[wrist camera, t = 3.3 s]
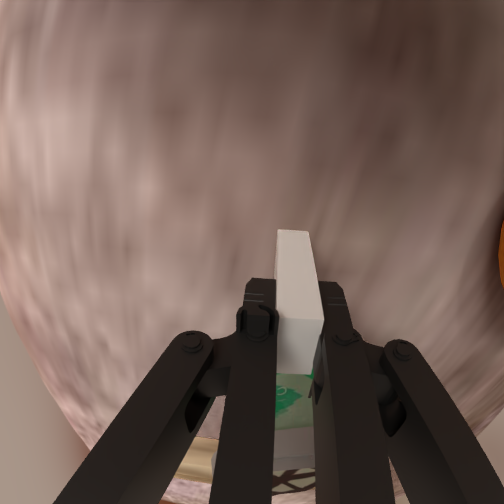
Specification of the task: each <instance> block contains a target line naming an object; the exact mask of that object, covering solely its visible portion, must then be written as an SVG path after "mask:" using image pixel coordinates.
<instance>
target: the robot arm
mask: <svg viewBox="0 0 504 504" xmlns="http://www.w3.org/2000/svg"><path fill="white" fill-rule="evenodd" d="M312 368H313V373H314V377H313V380H312V384H311V387H310V391H309V395H308V398H311V396H312V407H313V427H314V452H315V491H316V504H395V497H394V490H393V483H392V477H391V470H390V464H389V458H390V460H391V462H392V464H393V467H394V469H395V471H396V473H397V475H398V478H399V480H400V482H401V484H402V487H403V489H404V491H405V493H406V496H407V498H408V500H409V503H410V504H504V487H503V485H502V483H501V481H500V479H499V477H498V476H497V474H496V472H495V470H494V468H493V467H492V465H491V463H490V461H489V459H488V458H487V456H486V454H485V452H484V451H483V449H482V448H481V446H480V444H479V442H478V441H477V439H476V437H475V436H474V434H473V432H472V431H471V429H470V427H469V426H468V424H467V422H466V421H465V419H464V418H463V416H462V414H461V413H460V411H459V410H458V408H457V407H456V405H455V403H454V402H453V400H452V399H451V397H450V396H449V394H448V393H447V391H446V390H445V388H444V387H443V385H442V384H441V382H440V381H439V379H438V378H437V376H436V375H435V373H434V372H433V370H432V369H431V367H430V366H429V365H428V363H427V362H426V360H425V359H424V357H423V356H422V355H421V353H420V352H419V350H418V349H417V348H416V347H415V346H414V345H413V344H411V343H410V342H408V341H405V340H401V339H397V340H392V341H389V342H388V343H387V344H386V345H385V347H380V346H376V345H372V344H369V343H366V342H365V341H363V340H362V337H361V335H360V334H359V333H358V332H357V331H356V330H355V329H353V326H352V322H351V318H350V314H349V311H348V307H347V303H346V299H345V296H344V292H343V289H342V288H341V287H340V286H339V285H338V284H337V283H336V282H324V281H318V280H317V275H316V269H315V264H314V258H313V253H312V248H311V243H310V238H309V233H308V231H297V230H282V229H278V232H277V245H276V258H275V270H274V279H262V278H252V279H251V280H250V281H249V282H248V283H247V284H246V288H245V295H244V301H243V306H242V307H241V308H239V310H238V312H237V314H236V332H234V333H233V334H232V335H230V336H227V337H224V338H220V339H213V340H212V339H211V338H210V337H209V336H208V335H207V334H205V333H203V332H200V331H186V332H183V333H181V334H179V335H177V336H176V337H175V338H174V339H173V340H172V342H171V343H170V344H169V346H168V347H167V348H166V350H165V351H164V353H163V354H162V355H161V357H160V358H159V359H158V361H157V362H156V363H155V365H154V366H153V367H152V369H151V370H150V371H149V373H148V374H147V375H146V377H145V378H144V379H143V381H142V382H141V383H140V385H139V386H138V387H137V389H136V390H135V392H134V393H133V394H132V396H131V397H130V398H129V400H128V401H127V402H126V404H125V405H124V406H123V408H122V409H121V411H120V412H119V413H118V415H117V416H116V417H115V419H114V420H113V421H112V423H111V424H110V425H109V427H108V428H107V430H106V431H105V432H104V434H103V435H102V436H101V438H100V439H99V440H98V442H97V443H96V445H95V446H94V447H93V449H92V450H91V451H90V453H89V454H88V456H87V457H86V458H85V460H84V461H83V462H82V464H81V466H80V467H79V468H78V469H77V471H76V472H75V474H74V475H73V476H72V478H71V479H70V481H69V482H68V483H67V485H66V486H65V488H64V489H63V490H62V492H61V493H60V495H59V496H58V497H57V499H56V500H55V501H54V503H53V504H158V503H159V501H160V500H161V498H162V496H163V494H164V493H165V491H166V489H167V487H168V486H169V484H170V482H171V480H172V478H173V477H174V475H175V473H176V471H177V469H178V468H179V466H180V464H181V462H182V460H183V458H184V457H185V455H186V453H187V451H188V449H189V447H190V446H191V444H192V442H193V440H194V438H195V436H196V434H197V433H198V431H199V429H200V427H201V425H202V423H203V421H204V419H205V418H206V416H207V414H208V412H209V410H210V408H211V406H212V404H213V402H214V400H215V398H216V396H222V395H226V400H225V406H224V412H223V418H222V424H221V431H220V437H219V443H218V449H217V455H216V461H215V468H214V474H213V480H212V486H211V493H210V499H209V504H271V501H272V483H273V462H274V438H275V410H276V375H277V373H282V374H307V375H311V372H312ZM388 456H389V458H388Z"/></svg>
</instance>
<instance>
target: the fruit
mask: <svg viewBox="0 0 504 504" xmlns="http://www.w3.org/2000/svg"><path fill="white" fill-rule="evenodd" d="M498 258H499V268H500V277H501V283H502V286H503V288H504V221H503V224H502V228H501V237H500V245H499V252H498Z"/></svg>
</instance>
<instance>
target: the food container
mask: <svg viewBox="0 0 504 504" xmlns="http://www.w3.org/2000/svg"><path fill="white" fill-rule="evenodd" d="M313 377H314V373H313V368H312V372H311V375H307V374H282V373H277V375H276V410H275V438H274V462H273V483H272V496H274V495H278V494H284V493H295V492H301V491H306V490H309V489H312V488H314V487H315V452H314V427H313V407H312V396H311V398H308V395H309V391H310V387H311V384H312V380H313ZM216 455H217V451H216V452H215V453H214V454H213V456H212V459H211V465H212V477H213V474H214V468H215V461H216Z"/></svg>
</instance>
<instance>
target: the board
mask: <svg viewBox="0 0 504 504" xmlns="http://www.w3.org/2000/svg"><path fill="white" fill-rule="evenodd" d="M218 443H219V440H217V439H209V438H202V437H195V438H194V440H193V442H192V444H191V446H190V447H189V449H188V451H187V453H186V455H185V457H184V458H183V460H182V462H181V464H180V466H179V468H178V469H177V471H176V473H175V475H174V478H179V479H184V480H190V481H196V482H202V483H209V484H212V480H213V477H212V465H211V459H212V456H213V454H214V453H215V452H216V451H217V449H218ZM312 489H315V487H314V488H312ZM309 490H311V489H309Z"/></svg>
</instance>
